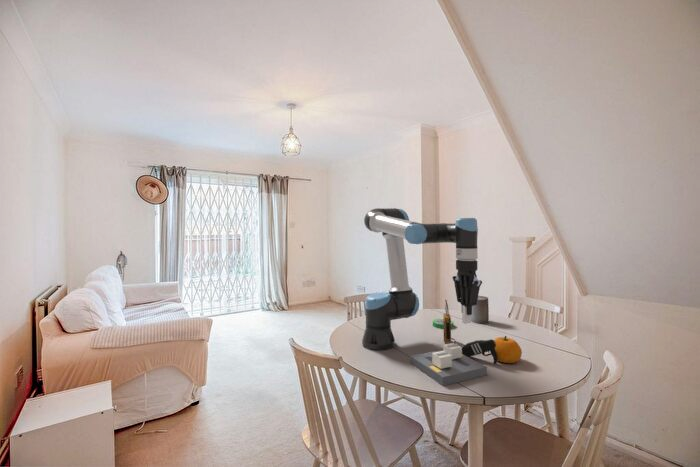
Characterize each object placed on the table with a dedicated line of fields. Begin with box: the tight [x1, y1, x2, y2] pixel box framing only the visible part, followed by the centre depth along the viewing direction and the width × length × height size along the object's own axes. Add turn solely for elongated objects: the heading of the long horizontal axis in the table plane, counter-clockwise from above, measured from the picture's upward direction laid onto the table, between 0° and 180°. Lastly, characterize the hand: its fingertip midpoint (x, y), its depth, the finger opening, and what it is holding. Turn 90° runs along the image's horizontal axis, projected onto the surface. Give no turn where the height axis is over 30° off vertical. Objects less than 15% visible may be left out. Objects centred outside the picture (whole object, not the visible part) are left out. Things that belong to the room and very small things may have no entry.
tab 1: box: [432, 351, 452, 369], centre depth 119 cm, size 5×5×4 cm
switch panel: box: [409, 349, 488, 387], centre depth 123 cm, size 20×20×3 cm
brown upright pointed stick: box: [442, 299, 466, 347], centre depth 150 cm, size 15×10×20 cm
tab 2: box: [442, 342, 463, 359], centre depth 127 cm, size 5×5×4 cm
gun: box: [461, 339, 498, 365], centre depth 131 cm, size 3×16×10 cm, turn 51°
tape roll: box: [432, 318, 455, 330], centre depth 177 cm, size 11×11×3 cm
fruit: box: [493, 335, 523, 364], centre depth 131 cm, size 12×12×10 cm
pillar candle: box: [471, 294, 490, 325], centre depth 184 cm, size 10×10×15 cm
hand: (466, 322), depth 119 cm, fingers closed
